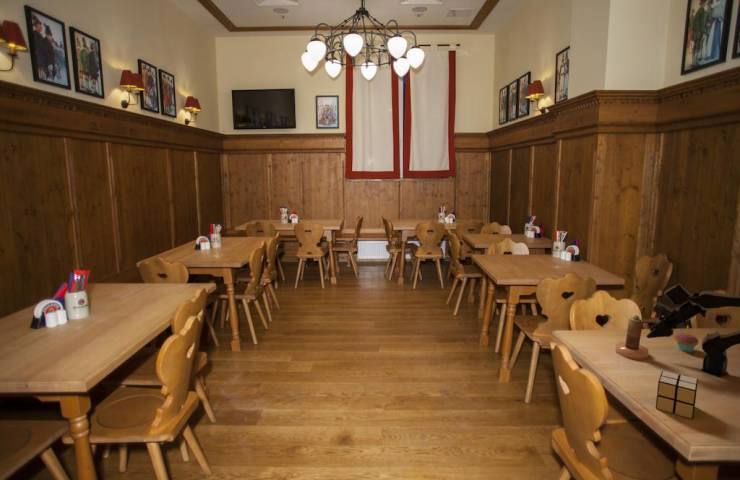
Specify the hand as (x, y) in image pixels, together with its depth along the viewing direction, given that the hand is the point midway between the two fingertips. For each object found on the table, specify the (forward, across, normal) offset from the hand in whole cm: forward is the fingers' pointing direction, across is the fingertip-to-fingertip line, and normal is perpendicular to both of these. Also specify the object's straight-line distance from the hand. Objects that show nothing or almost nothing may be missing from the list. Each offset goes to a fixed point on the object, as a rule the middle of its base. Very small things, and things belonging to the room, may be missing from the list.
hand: (648, 333), depth 182 cm
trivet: (+12, 0, +3) cm, 12 cm away
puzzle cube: (-2, +40, +17) cm, 43 cm away
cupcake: (-1, -19, +16) cm, 25 cm away
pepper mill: (+9, 0, +1) cm, 9 cm away
